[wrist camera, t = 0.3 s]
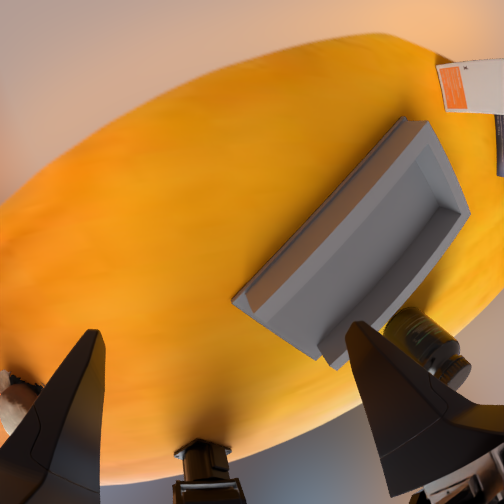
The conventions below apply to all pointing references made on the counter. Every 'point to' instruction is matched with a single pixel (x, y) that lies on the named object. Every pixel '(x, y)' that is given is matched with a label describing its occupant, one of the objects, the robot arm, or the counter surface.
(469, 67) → the skincare box
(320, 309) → the gray rectangular tray
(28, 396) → the skull
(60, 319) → the counter surface
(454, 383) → the supplement bottle
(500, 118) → the small box
